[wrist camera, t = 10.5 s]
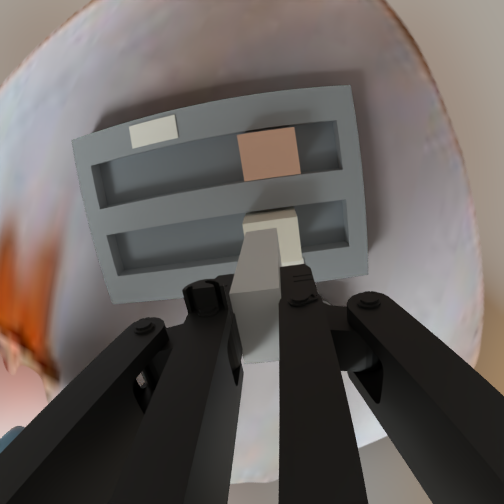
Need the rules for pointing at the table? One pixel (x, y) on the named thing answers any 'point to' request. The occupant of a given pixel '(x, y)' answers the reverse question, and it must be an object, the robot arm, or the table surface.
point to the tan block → (269, 154)
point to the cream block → (278, 229)
